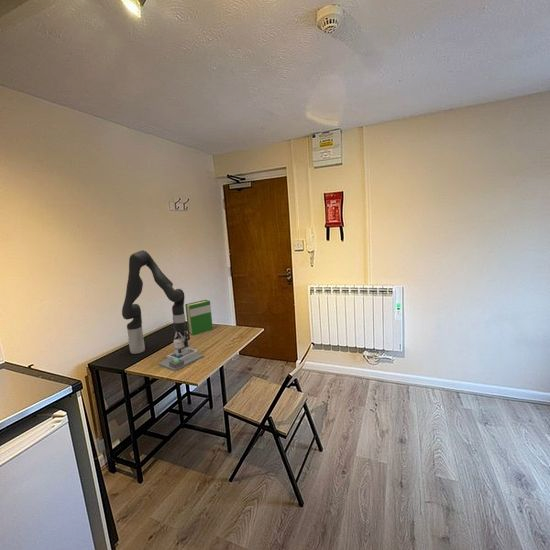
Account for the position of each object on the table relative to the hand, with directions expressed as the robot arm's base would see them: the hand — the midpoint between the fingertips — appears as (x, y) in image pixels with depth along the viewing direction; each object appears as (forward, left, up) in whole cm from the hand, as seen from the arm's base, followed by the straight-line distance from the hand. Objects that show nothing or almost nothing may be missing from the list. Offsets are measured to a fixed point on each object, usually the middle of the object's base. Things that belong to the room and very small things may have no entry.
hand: (181, 344), depth 193 cm
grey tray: (+2, -3, -9) cm, 10 cm away
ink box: (0, 0, -8) cm, 8 cm away
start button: (+7, -10, -7) cm, 15 cm away
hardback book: (-29, +40, -9) cm, 50 cm away
